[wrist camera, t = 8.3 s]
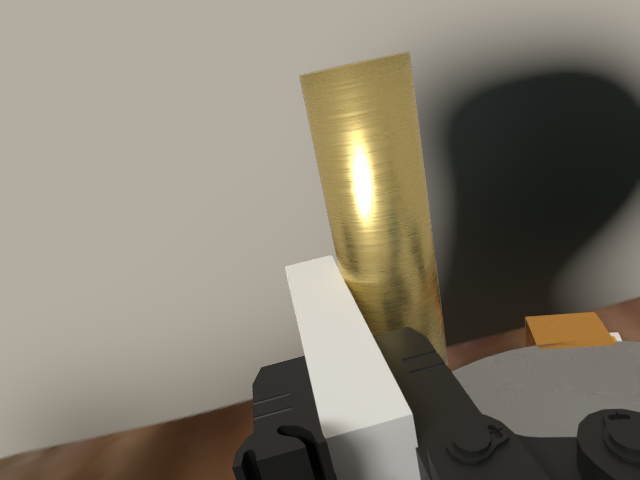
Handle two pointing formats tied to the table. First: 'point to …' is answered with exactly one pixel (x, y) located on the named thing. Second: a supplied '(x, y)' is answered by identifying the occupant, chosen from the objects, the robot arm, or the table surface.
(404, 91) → the sprocket
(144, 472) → the table surface
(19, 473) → the table surface
